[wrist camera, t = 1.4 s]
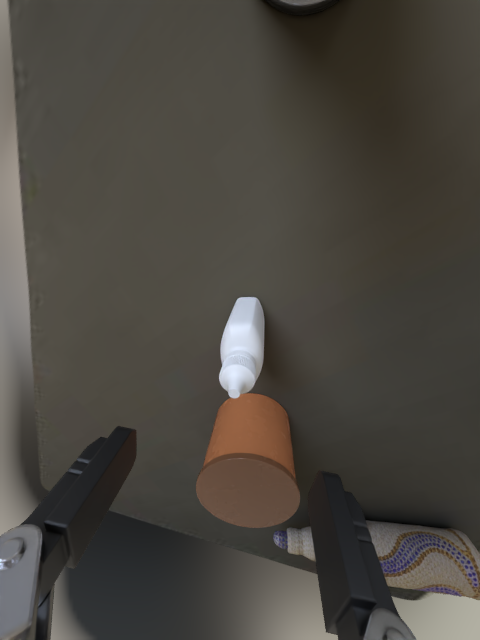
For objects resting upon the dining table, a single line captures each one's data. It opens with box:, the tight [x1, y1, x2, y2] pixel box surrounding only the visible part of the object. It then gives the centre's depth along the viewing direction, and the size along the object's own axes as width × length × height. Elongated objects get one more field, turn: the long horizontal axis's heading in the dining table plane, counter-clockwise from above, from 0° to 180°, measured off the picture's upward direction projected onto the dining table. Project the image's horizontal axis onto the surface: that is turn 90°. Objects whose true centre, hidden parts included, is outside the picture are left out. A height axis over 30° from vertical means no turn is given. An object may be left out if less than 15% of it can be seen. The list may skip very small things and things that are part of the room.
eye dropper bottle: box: [219, 297, 265, 398], centre depth 20 cm, size 4×6×12 cm
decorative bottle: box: [273, 520, 480, 600], centre depth 32 cm, size 26×8×7 cm, turn 91°
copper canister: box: [196, 393, 300, 528], centre depth 26 cm, size 10×10×9 cm
